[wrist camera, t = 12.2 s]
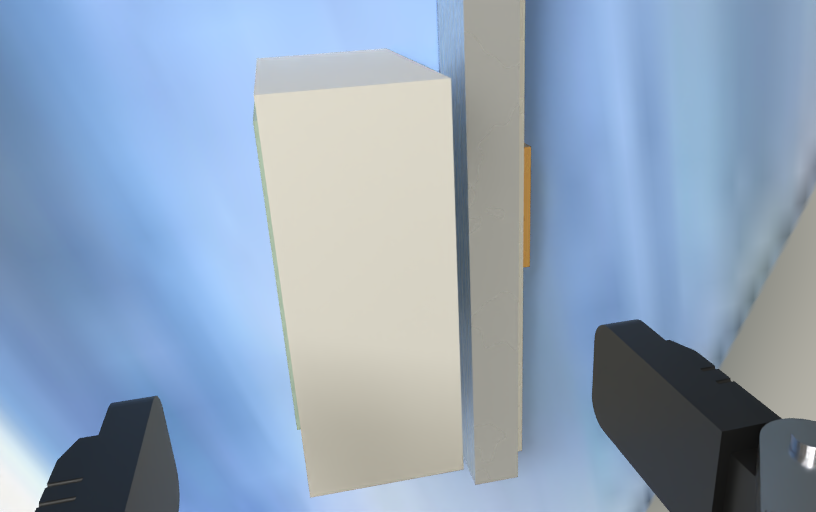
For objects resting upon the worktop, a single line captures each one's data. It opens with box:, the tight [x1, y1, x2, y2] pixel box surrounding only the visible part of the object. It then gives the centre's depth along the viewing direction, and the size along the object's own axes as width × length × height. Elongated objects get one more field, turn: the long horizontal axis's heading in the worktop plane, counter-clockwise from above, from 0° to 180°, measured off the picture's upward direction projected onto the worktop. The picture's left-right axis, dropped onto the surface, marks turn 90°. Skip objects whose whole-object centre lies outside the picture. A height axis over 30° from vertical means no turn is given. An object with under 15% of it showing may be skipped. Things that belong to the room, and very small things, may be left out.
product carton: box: [253, 49, 463, 498], centre depth 19 cm, size 4×10×8 cm, turn 3°
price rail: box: [437, 0, 531, 485], centre depth 22 cm, size 20×2×3 cm, turn 3°
